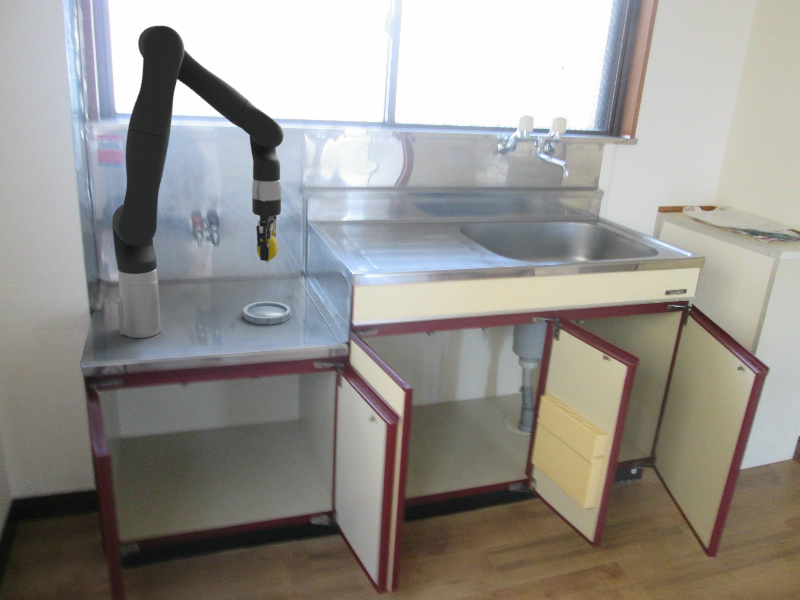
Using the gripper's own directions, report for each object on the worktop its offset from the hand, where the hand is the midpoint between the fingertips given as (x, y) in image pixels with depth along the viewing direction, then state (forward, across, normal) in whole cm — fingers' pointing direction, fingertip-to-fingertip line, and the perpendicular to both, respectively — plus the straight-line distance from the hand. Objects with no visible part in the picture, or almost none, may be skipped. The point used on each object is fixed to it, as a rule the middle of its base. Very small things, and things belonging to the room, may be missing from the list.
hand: (266, 256), depth 183 cm
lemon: (+2, 0, 0) cm, 2 cm away
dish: (+17, 0, 0) cm, 17 cm away
